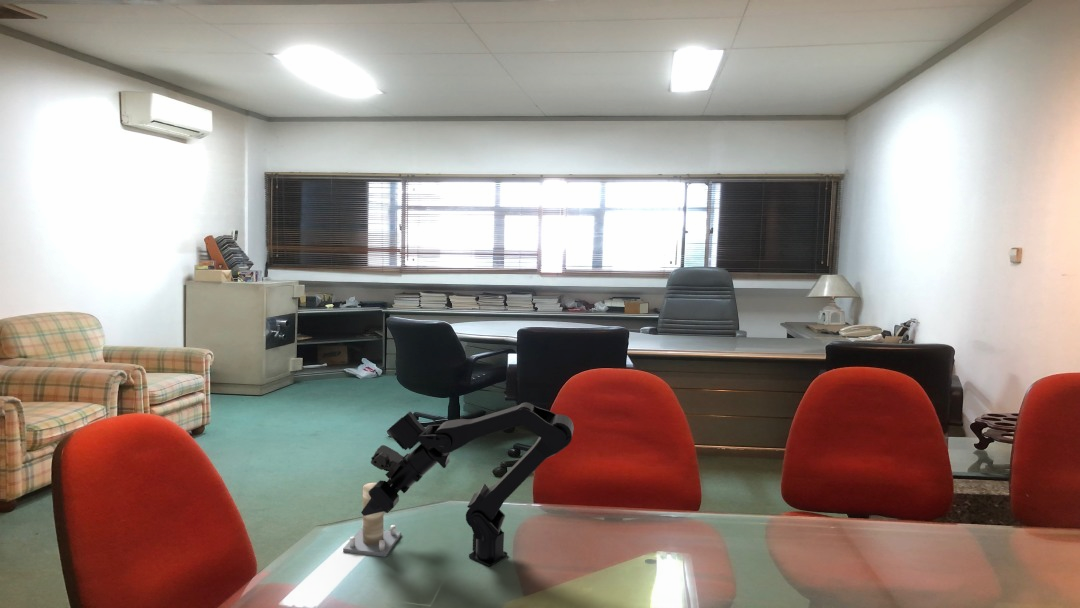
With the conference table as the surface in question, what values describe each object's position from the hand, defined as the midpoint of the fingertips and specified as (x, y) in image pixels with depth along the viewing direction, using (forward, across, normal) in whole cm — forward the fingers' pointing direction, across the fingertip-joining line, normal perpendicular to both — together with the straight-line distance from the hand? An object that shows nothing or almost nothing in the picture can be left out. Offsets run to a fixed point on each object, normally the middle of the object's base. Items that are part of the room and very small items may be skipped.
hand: (370, 505), depth 145 cm
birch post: (+6, 0, +6) cm, 9 cm away
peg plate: (+6, 0, +7) cm, 9 cm away
